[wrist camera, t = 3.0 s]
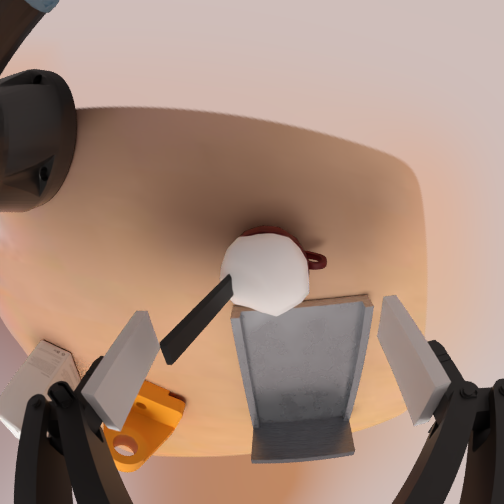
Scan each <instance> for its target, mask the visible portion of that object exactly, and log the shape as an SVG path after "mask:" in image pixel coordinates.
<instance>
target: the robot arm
mask: <svg viewBox="0 0 504 504" xmlns="http://www.w3.org/2000/svg"><path fill="white" fill-rule="evenodd" d="M58 2H59V0H0V75H1V73H2V72H3V70H4V68H5V67H6V65H7V64H8V62H9V61H10V59H11V58H12V56H13V55H14V53H15V52H16V50H17V49H18V48H19V46H20V45H21V43H22V42H23V41H24V39H25V38H26V37H27V36H28V34H29V33H30V32H31V31H32V29H33V28H34V27H35V25H36V24H37V23H38V22H39V21H40V20H41V19H42V17H43V16H44V15H45V14H46V13H48V12H50V11H51V10H52V9H53V8H54V7H55V6H56V5H57V4H58ZM75 139H76V111H75V104H74V100H73V97H72V93H71V91H70V89H69V87H68V85H67V83H66V82H65V80H64V79H63V78H62V77H61V76H59V75H58V74H56V73H54V72H51V71H45V70H37V69H31V70H26V71H23V72H19V73H16V74H13V75H11V76H7V77H5V78H2V79H0V212H25V211H29V210H31V209H33V208H36V207H38V206H40V205H43V204H45V203H46V202H48V201H49V200H50V199H51V198H52V197H53V196H54V195H55V194H56V192H57V191H58V190H59V188H60V187H61V185H62V183H63V181H64V179H65V177H66V175H67V172H68V170H69V167H70V163H71V160H72V156H73V151H74V146H75ZM377 337H378V339H379V342H380V344H381V346H382V348H383V351H384V353H385V355H386V357H387V360H388V362H389V364H390V367H391V369H392V371H393V374H394V376H395V378H396V381H397V383H398V386H399V388H400V391H401V393H402V396H403V398H404V401H405V403H406V406H407V409H408V411H409V414H410V416H411V419H412V422H413V425H414V426H416V425H419V424H423V423H426V422H428V421H429V420H430V418H431V417H432V415H434V417H435V420H436V421H435V423H434V424H433V425H432V427H431V428H430V430H429V432H428V433H430V434H429V436H428V438H427V441H426V443H425V445H424V447H423V449H422V451H421V453H420V455H419V457H418V459H417V461H416V463H415V465H414V467H413V469H412V471H411V473H410V475H409V476H408V478H407V480H406V482H405V483H404V485H403V487H402V488H401V490H400V492H399V493H398V495H397V496H396V498H395V500H394V501H393V503H392V504H443V503H444V501H445V499H446V497H447V495H448V493H449V491H450V489H451V486H452V484H453V482H454V479H455V477H456V474H457V472H458V470H459V467H460V464H461V462H462V459H463V456H464V453H465V450H466V447H467V444H468V453H467V463H466V471H465V477H464V483H463V489H462V494H461V499H460V503H459V504H504V379H499V380H498V381H496V383H495V384H494V386H493V387H491V388H478V387H477V386H476V385H475V384H474V383H472V382H468V381H465V380H464V379H463V377H462V375H461V374H460V372H459V371H458V369H457V367H456V366H455V364H454V362H453V361H452V360H451V358H450V356H449V355H448V354H447V352H446V350H445V348H444V347H443V346H442V345H441V344H440V343H439V342H437V341H436V340H432V341H428V342H427V341H426V339H425V337H424V336H423V334H422V333H421V331H420V330H419V328H418V327H417V325H416V324H415V322H414V321H413V319H412V318H411V316H410V315H409V313H408V312H407V310H406V309H405V307H404V306H403V304H402V303H401V302H400V300H399V299H398V297H397V296H396V295H392V296H385V297H383V304H382V311H381V317H380V323H379V328H378V334H377ZM159 349H160V345H159V342H158V340H157V337H156V334H155V331H154V329H153V326H152V323H151V320H150V317H149V314H148V311H136V312H135V313H134V315H133V316H132V317H131V319H130V320H129V322H128V323H127V324H126V326H125V327H124V329H123V330H122V331H121V333H120V334H119V336H118V337H117V339H116V340H115V341H114V343H113V344H112V346H111V347H110V349H109V350H108V352H107V353H106V355H105V356H100V357H99V358H98V359H96V360H95V361H94V362H93V363H92V365H91V366H90V368H89V370H88V371H87V372H86V375H84V377H83V378H82V380H81V381H80V383H79V384H78V386H77V387H76V389H75V390H74V391H73V390H72V388H71V387H70V385H69V384H68V383H67V382H66V381H58V382H56V383H54V384H52V385H51V386H50V388H49V389H48V392H47V395H48V396H49V397H50V399H51V400H52V401H48V400H47V399H46V398H45V396H44V395H42V394H36V395H34V396H32V397H31V398H30V399H29V400H28V402H27V406H26V410H25V414H24V419H23V424H22V429H21V434H20V440H19V446H18V454H17V461H16V472H15V485H14V504H73V498H72V488H73V492H74V495H75V498H76V501H77V504H133V502H132V500H131V498H130V496H129V494H128V492H127V490H126V488H125V486H124V484H123V481H122V479H121V477H120V475H119V472H118V470H117V467H116V465H115V462H114V460H113V457H112V455H111V452H110V449H109V447H108V444H107V441H106V438H105V435H104V432H103V430H102V428H101V427H100V425H101V424H102V422H103V423H104V424H105V425H106V426H107V428H109V429H113V430H116V431H120V432H121V429H122V427H123V425H124V423H125V421H126V418H127V416H128V414H129V412H130V410H131V407H132V405H133V403H134V401H135V399H136V397H137V395H138V392H139V390H140V388H141V386H142V384H143V382H144V380H145V378H146V376H147V374H148V372H149V370H150V367H151V365H152V363H153V361H154V359H155V357H156V355H157V353H158V351H159ZM47 432H48V437H47Z"/></svg>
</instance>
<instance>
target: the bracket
mask: <svg viewBox="0 0 504 504" xmlns="http://www.w3.org/2000/svg"><path fill="white" fill-rule="evenodd" d="M169 392H170V391H169V390H166V389H164V388H162V387H159V386H157V385H155V384H152V383H150V382H148V381H146V380H144V382H143V384H142V386H141V388H140V390H139V392H138V395H137V397H136V399H135V401H134V403H133V405H132V407H131V410H130V412H129V414H128V416H127V418H126V421H125V423H124V425H123V427H122V429H121V432H120V431H116V430H113V429H109V428H107V426H106V425H105V424H104V435H105V438H106V441H107V444H108V447H109V449H110V452H111V455H112V457H113V460H114V462H115V465H116V467H117V470H119V471H122V472H133V471H136V470H137V469H139V468H140V467H141V466H142V465H143V464H144V463H145V462H146V461H147V459H149V457H151V455H152V454H153V453H154V452H155V451H156V450H157V449H158V448H159V447H160V446H161V445H162V444H163V443H164V442H165V441H166V440H167V439H168V437H169V436H170V435H171V434H172V433H173V431H174V430H175V428H176V426H177V424H178V423H179V421H180V419H181V418H182V415H183V412H184V408H185V403H184V402H183V401H181V400H179V399H176V398H174V397H171V396H169ZM118 445H125V446H127V447H129V448H130V449H131V450H132V451H133V452H134V455H132V456H124V455H121V454H119V453H118V452H117V451H116V450H115V449H114V447H116V446H118Z"/></svg>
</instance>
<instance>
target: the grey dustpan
mask: <svg viewBox="0 0 504 504" xmlns="http://www.w3.org/2000/svg"><path fill="white" fill-rule="evenodd" d="M373 308H374V306H373V304H372V302H371V300H370V298H369V297H368V295H359V296H350V297H341V298H331V299H321V300H310V301H302V302H301V303H300V304H298V305H297V306H295V307H293V308H292V309H290V310H289V311H287V312H285V313H283V314H281V315H279V316H273V315H269V314H266V313H262V312H259V311H257V310H254V309H252V308H249V307H245V306H241V305H238V306H233V309H232V313H231V318H230V319H231V324H232V329H233V334H234V340H235V345H236V350H237V355H238V360H239V365H240V369H241V374H242V379H243V384H244V389H245V393H246V398H247V402H248V407H249V411H250V416H251V420H252V425H253V442H252V455H251V461H252V463H289V462H303V461H313V460H322V459H330V458H336V457H343V456H349V455H353V454H354V452H355V448H354V443H353V438H352V432H351V427H350V423H349V419H350V416H351V412H352V409H353V405H354V402H355V398H356V394H357V390H358V386H359V382H360V378H361V373H362V369H363V364H364V360H365V355H366V350H367V344H368V339H369V333H370V328H371V321H372V315H373Z"/></svg>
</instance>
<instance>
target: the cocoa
mask: <svg viewBox="0 0 504 504" xmlns="http://www.w3.org/2000/svg"><path fill="white" fill-rule="evenodd" d="M308 259H313V260H317V261H318V262H312V261H309V260H308ZM326 265H327V259H326V257H325V256H323V255H321V254H318V253H314V252H310V251H304V250H303V248H302V246H301V245H300V243H299V241H298V240H297V238H295V237H294V236H293V235H291V234H289V233H288V232H286V231H285V230H283V229H281V228H280V227H274V226H265V225H262V226H259V227H256V228H253V229H250V230H247V231H245V232H244V233H243V234H242V235H241V236H239V237H238V238H237V239H236V240H235V241H234V242H233V243H232V244H231V245H230V246H229V247H228V248H227V250H226V253H225V256H224V259H223V262H222V265H221V271H220V283H219V284H218V285H217V286H216V287H215V288H214V289H213V290H212V291H211V292H210V293H209V294H208V295H207V296H206V297H205V298H204V299H203V300H202V301H201V302H200V303H199V304H198V305H197V306H196V307H195V308H194V309H193V310H192V311H191V312H190V313H189V314H188V315H187V316H186V317H185V318H184V319H183V320H182V321H181V322H180V323H179V324H178V325H177V326H176V327H175V328H174V329H173V330H172V331H171V332H170V333H169V334H168V335H167V336H166V337H165V338H164V339H163V340H162V341H161V342H160V348H161V350H162V353H163V355H164V358H165V360H166V363H167V365H172V364H173V363H174V362H175V361H176V360H177V359H178V358H179V357H180V355H181V354H182V353H183V352H184V351H185V350H186V349H187V348H188V346H189V345H190V344H191V343H192V342H193V341H194V340H195V338H196V337H197V336H198V335H199V334H200V333H201V332H202V330H203V329H204V328H205V327H206V326H207V325H208V324H209V323H210V321H211V320H212V319H213V318H214V317H215V316H216V314H217V313H218V312H219V311H220V310H221V309H222V308H223V306H224V305H225V304H226V303H227V302H228V301H229V300H231V301H232V302H233V303H234V304H237V305H241V306H245V307H249V308H252V309H254V310H257V311H259V312H262V313H266V314H269V315H273V316H279V315H281V314H283V313H285V312H287V311H289V310H290V309H292V308H293V307H295V306H297V305H298V304H300V303H301V302H302V301H303V300H304V299H305V297H306V296H307V295H308V294H309V269H312V270H317V269H323V268H325V267H326Z"/></svg>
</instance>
